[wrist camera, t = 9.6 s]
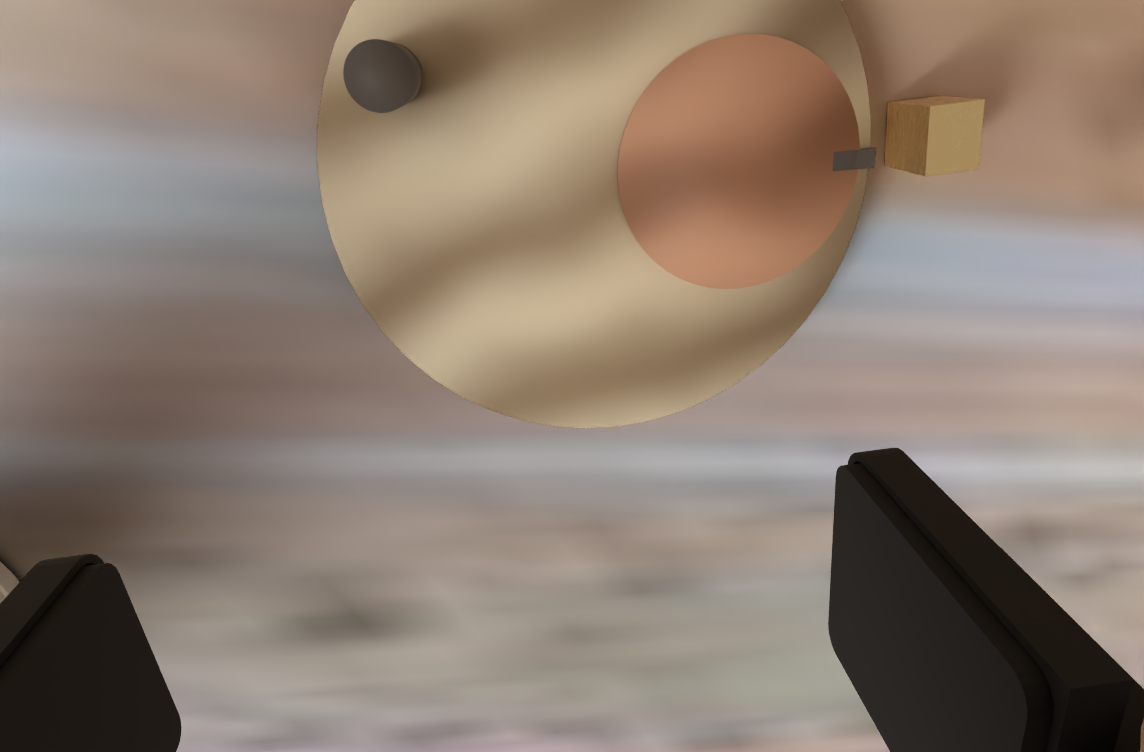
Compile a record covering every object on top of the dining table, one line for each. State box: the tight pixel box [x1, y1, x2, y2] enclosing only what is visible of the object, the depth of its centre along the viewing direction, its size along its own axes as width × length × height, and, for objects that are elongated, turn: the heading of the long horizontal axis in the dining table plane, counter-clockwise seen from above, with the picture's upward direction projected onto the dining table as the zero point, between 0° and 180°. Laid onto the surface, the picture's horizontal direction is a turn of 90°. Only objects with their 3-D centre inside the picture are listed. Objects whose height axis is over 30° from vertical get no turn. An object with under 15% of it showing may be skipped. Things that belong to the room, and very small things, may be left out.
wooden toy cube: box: [885, 96, 985, 176], centre depth 28 cm, size 2×2×3 cm
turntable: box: [317, 0, 876, 428], centre depth 26 cm, size 20×20×5 cm
